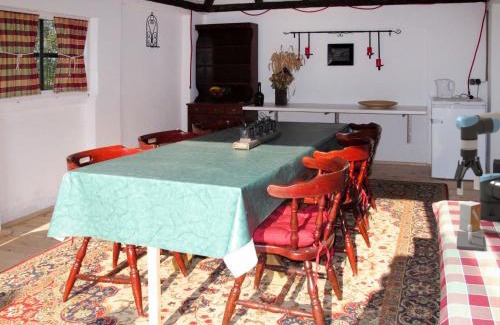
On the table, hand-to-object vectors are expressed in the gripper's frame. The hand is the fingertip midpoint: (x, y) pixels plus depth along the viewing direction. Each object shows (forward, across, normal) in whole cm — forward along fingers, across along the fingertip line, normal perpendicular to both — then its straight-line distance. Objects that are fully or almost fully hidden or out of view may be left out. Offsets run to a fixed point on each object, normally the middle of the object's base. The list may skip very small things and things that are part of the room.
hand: (468, 192), depth 263 cm
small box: (+20, -2, -1) cm, 20 cm away
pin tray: (+19, +14, +10) cm, 26 cm away
